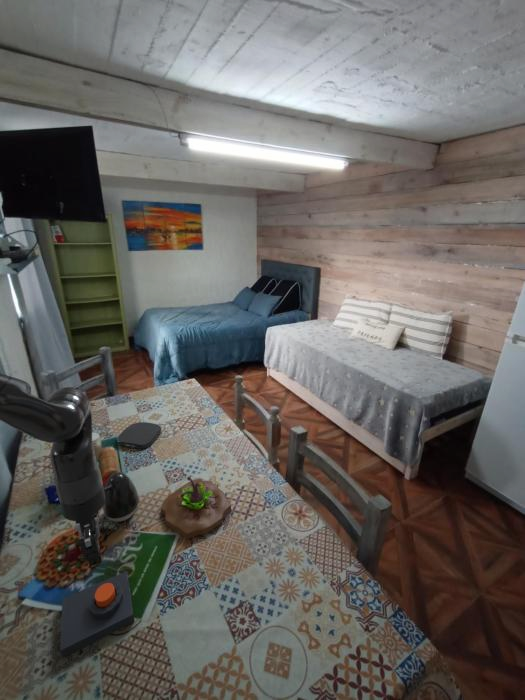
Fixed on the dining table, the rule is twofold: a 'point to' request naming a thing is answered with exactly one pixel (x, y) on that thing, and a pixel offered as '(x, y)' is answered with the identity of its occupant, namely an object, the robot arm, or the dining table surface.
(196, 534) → the plant
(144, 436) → the media streaming box
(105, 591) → the lid button
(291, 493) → the dining table surface
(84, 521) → the robot arm
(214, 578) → the dining table surface
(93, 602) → the push button box
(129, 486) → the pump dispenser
